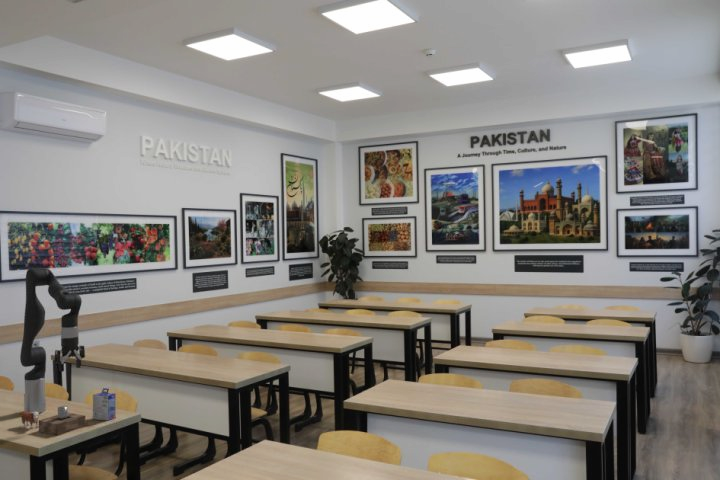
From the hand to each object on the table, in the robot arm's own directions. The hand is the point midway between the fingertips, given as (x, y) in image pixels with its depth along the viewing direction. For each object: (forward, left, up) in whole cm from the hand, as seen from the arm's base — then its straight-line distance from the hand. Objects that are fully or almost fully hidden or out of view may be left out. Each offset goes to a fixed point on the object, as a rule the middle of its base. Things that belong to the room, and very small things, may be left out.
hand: (70, 369), depth 275 cm
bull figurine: (-13, -12, -26) cm, 31 cm away
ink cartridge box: (+8, +12, -26) cm, 30 cm away
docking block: (+3, -7, -26) cm, 27 cm away
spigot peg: (+3, -7, -25) cm, 26 cm away
